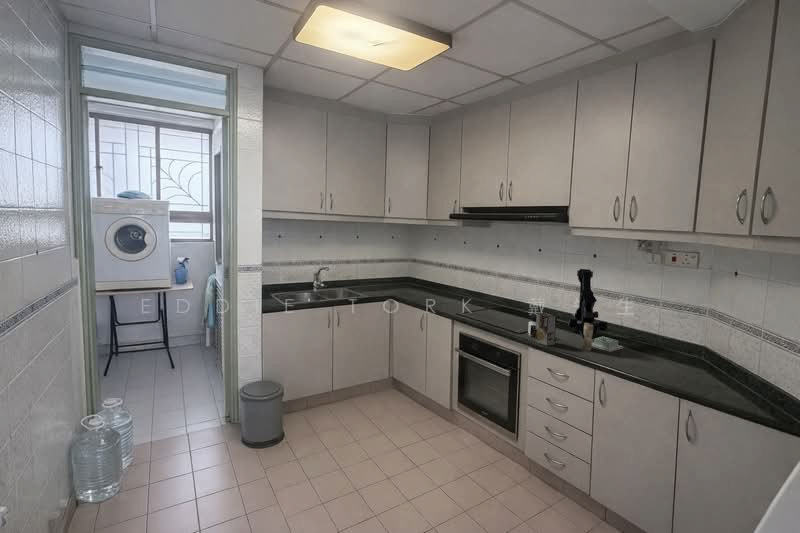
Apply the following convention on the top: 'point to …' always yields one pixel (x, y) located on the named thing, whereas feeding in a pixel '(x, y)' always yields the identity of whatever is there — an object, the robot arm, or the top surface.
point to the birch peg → (587, 336)
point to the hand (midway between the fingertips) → (587, 338)
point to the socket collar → (606, 344)
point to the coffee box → (545, 328)
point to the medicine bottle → (532, 326)
